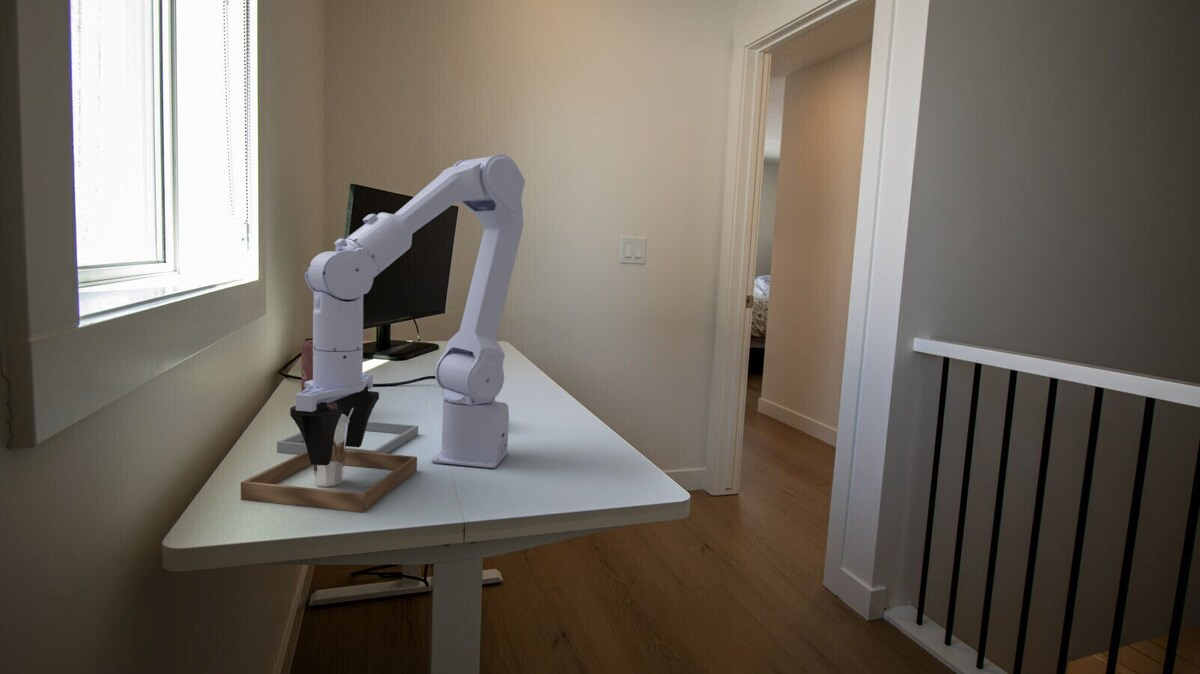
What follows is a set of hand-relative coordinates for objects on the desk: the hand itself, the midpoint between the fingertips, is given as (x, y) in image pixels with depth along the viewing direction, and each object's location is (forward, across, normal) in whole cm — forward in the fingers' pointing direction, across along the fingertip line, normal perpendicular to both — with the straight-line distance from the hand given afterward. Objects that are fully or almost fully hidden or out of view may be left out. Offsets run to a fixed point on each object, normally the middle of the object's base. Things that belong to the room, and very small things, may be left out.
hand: (337, 454), depth 78 cm
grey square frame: (+4, -17, -7) cm, 19 cm away
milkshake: (+4, 0, -1) cm, 4 cm away
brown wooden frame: (+4, 0, 0) cm, 4 cm away
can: (+4, -30, -20) cm, 36 cm away
